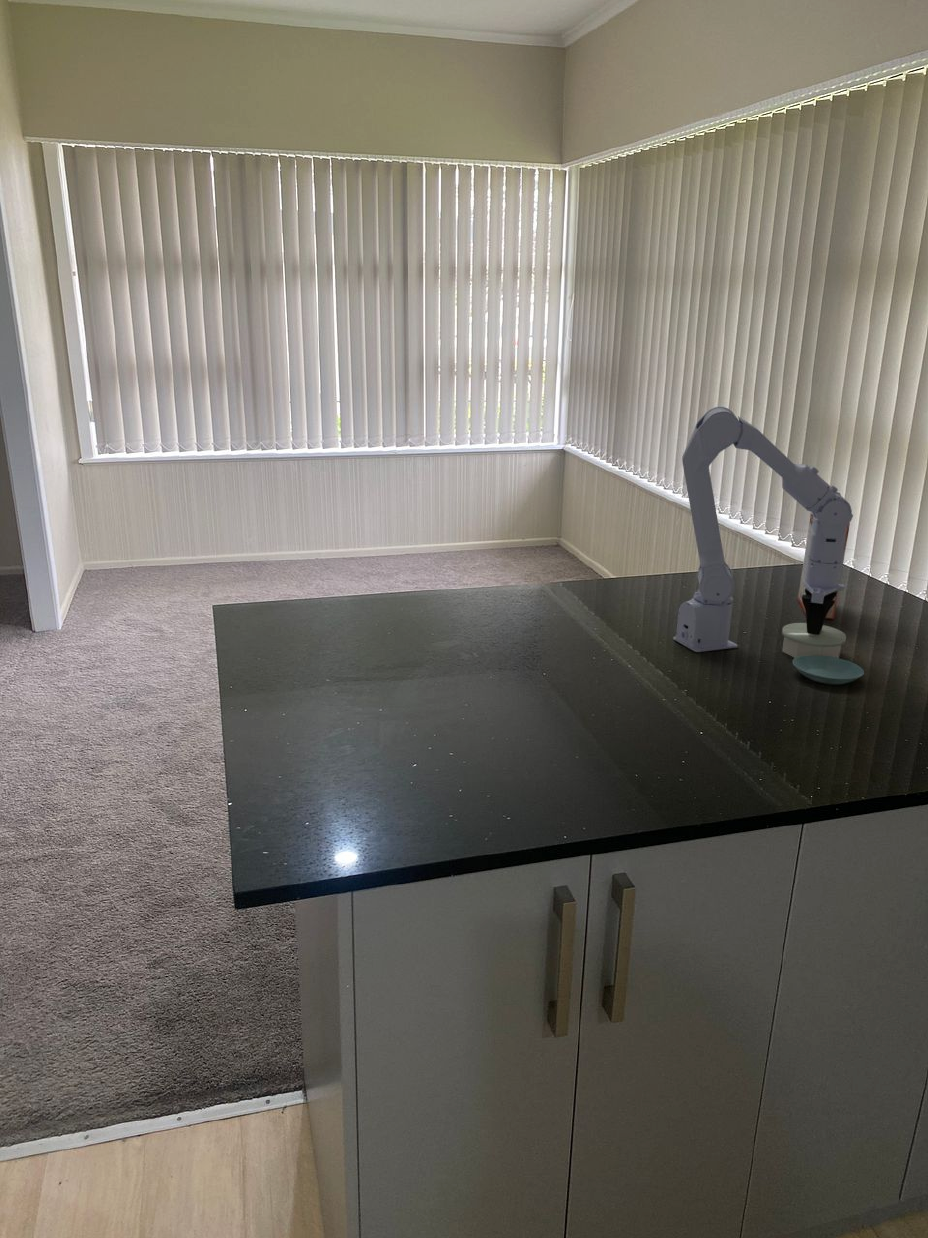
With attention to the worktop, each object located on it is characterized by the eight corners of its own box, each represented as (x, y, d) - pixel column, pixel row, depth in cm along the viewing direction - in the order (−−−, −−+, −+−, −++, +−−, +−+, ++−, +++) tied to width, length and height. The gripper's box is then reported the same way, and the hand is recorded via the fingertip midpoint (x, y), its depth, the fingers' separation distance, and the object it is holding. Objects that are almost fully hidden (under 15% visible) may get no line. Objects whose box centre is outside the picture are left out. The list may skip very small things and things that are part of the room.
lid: (809, 649, 169) (812, 629, 168) (769, 629, 179) (772, 610, 178) (858, 643, 173) (861, 623, 172) (816, 624, 183) (819, 605, 182)
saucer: (805, 661, 173) (806, 649, 173) (871, 677, 166) (873, 665, 166) (780, 678, 165) (782, 666, 164) (849, 696, 158) (851, 684, 157)
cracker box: (835, 620, 197) (851, 522, 190) (805, 617, 198) (820, 520, 191) (825, 601, 210) (839, 508, 203) (797, 599, 211) (810, 506, 204)
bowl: (807, 664, 171) (810, 647, 170) (772, 646, 180) (774, 630, 179) (851, 658, 175) (853, 642, 174) (814, 641, 183) (816, 625, 182)
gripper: (846, 571, 164) (834, 645, 168) (850, 553, 176) (839, 622, 181) (803, 566, 166) (793, 639, 171) (810, 549, 179) (800, 617, 183)
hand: (814, 630), depth 176 cm, fingers open, 4 cm apart
